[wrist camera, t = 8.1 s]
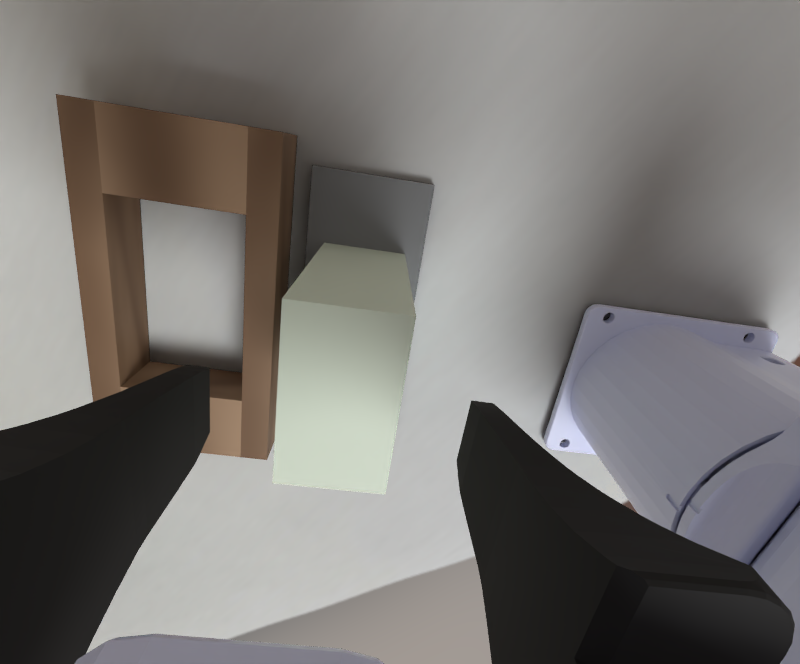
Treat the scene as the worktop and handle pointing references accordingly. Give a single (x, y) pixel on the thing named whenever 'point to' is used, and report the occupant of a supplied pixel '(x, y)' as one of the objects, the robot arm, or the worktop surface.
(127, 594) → the worktop surface
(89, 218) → the pocket block
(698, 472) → the robot arm
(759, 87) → the worktop surface
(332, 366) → the sage block
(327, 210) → the mat
